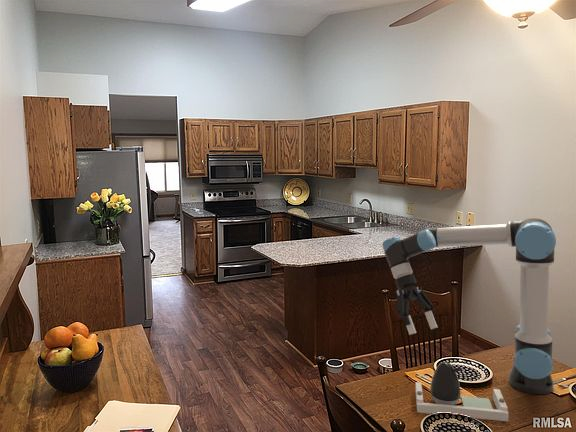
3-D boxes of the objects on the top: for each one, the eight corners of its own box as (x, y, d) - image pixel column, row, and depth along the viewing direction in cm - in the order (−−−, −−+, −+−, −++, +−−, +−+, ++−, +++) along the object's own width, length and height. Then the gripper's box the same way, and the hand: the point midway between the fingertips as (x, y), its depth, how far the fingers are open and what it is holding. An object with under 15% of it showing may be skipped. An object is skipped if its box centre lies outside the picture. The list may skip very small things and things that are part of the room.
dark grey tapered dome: (457, 414, 157) (458, 371, 155) (426, 406, 163) (427, 365, 161) (463, 400, 166) (464, 360, 164) (434, 393, 171) (434, 354, 169)
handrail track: (499, 399, 166) (499, 387, 165) (508, 421, 152) (508, 408, 151) (415, 392, 172) (415, 380, 172) (417, 412, 159) (417, 399, 158)
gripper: (415, 277, 187) (434, 328, 180) (375, 282, 172) (395, 338, 164) (430, 270, 182) (450, 323, 175) (390, 275, 166) (411, 333, 159)
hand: (423, 331), depth 170 cm, fingers open, 13 cm apart
